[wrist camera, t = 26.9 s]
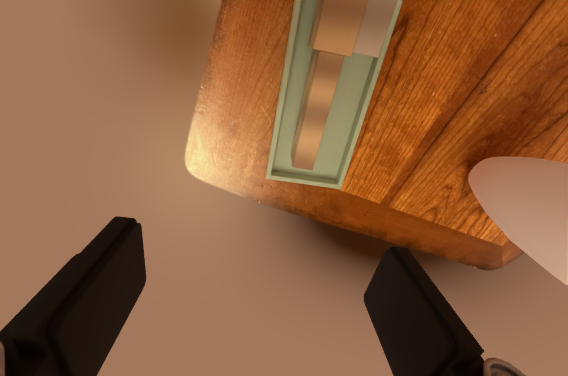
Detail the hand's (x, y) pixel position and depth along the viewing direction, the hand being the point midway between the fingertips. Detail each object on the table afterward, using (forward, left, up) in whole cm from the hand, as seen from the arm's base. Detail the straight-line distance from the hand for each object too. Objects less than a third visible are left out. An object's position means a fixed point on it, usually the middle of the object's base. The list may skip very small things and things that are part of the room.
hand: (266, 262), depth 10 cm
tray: (+6, +4, -23) cm, 24 cm away
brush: (+6, +6, -22) cm, 24 cm away
